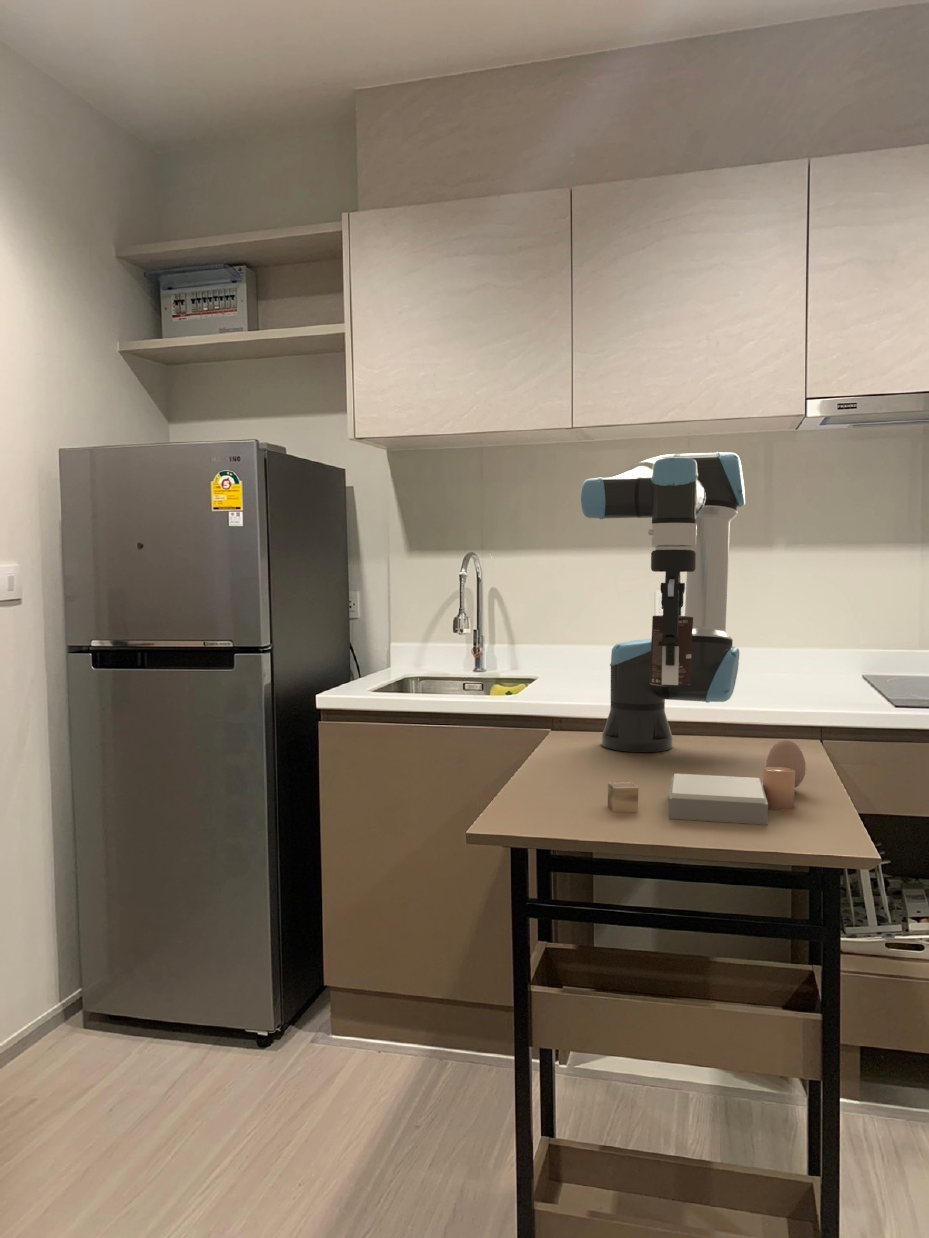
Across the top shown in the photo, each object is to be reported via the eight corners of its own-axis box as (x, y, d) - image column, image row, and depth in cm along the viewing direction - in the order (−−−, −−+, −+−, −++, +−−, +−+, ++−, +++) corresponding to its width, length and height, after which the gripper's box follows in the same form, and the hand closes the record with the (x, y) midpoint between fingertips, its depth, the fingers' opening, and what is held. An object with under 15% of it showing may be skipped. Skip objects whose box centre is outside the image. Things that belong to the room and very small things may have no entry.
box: (667, 687, 163) (668, 616, 163) (649, 684, 167) (650, 615, 166) (693, 685, 166) (694, 615, 166) (674, 682, 170) (675, 614, 170)
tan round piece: (761, 801, 163) (762, 766, 163) (792, 802, 162) (793, 767, 162) (763, 808, 159) (764, 772, 158) (795, 810, 157) (796, 774, 157)
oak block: (607, 806, 160) (607, 782, 160) (631, 805, 161) (631, 781, 160) (613, 812, 156) (614, 788, 156) (638, 811, 157) (638, 787, 156)
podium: (671, 795, 167) (671, 772, 167) (761, 800, 163) (762, 777, 163) (668, 818, 152) (668, 793, 152) (767, 824, 149) (768, 799, 149)
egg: (764, 793, 169) (765, 741, 168) (767, 784, 175) (768, 734, 174) (804, 796, 166) (805, 744, 166) (805, 787, 172) (807, 737, 172)
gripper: (655, 550, 176) (653, 675, 177) (646, 547, 157) (644, 687, 158) (697, 550, 174) (695, 676, 175) (694, 547, 155) (691, 689, 156)
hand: (671, 681), depth 167 cm, fingers closed on box, 7 cm apart
